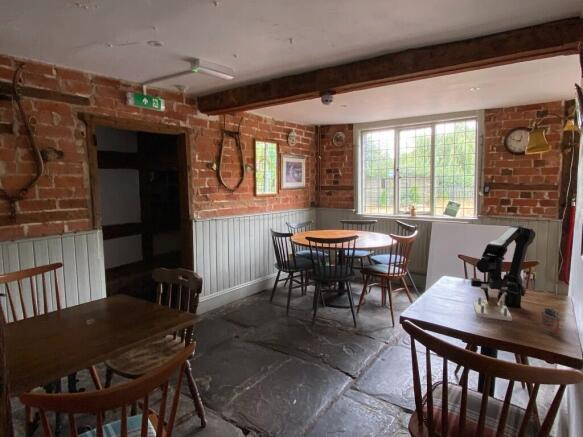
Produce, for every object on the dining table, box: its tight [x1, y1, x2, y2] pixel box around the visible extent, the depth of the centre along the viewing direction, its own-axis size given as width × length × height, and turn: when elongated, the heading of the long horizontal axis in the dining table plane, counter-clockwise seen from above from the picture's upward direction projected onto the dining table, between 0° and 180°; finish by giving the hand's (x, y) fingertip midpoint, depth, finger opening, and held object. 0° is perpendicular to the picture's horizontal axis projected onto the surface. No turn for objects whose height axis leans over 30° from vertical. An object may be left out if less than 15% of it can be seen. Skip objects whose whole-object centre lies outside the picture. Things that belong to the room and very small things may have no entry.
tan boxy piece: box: [482, 293, 501, 310], centre depth 166 cm, size 6×9×5 cm, turn 159°
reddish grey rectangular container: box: [539, 306, 561, 337], centre depth 145 cm, size 8×3×10 cm, turn 5°
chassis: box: [473, 297, 513, 322], centre depth 167 cm, size 14×16×4 cm
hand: (492, 302), depth 166 cm, fingers closed on tan boxy piece, 4 cm apart
